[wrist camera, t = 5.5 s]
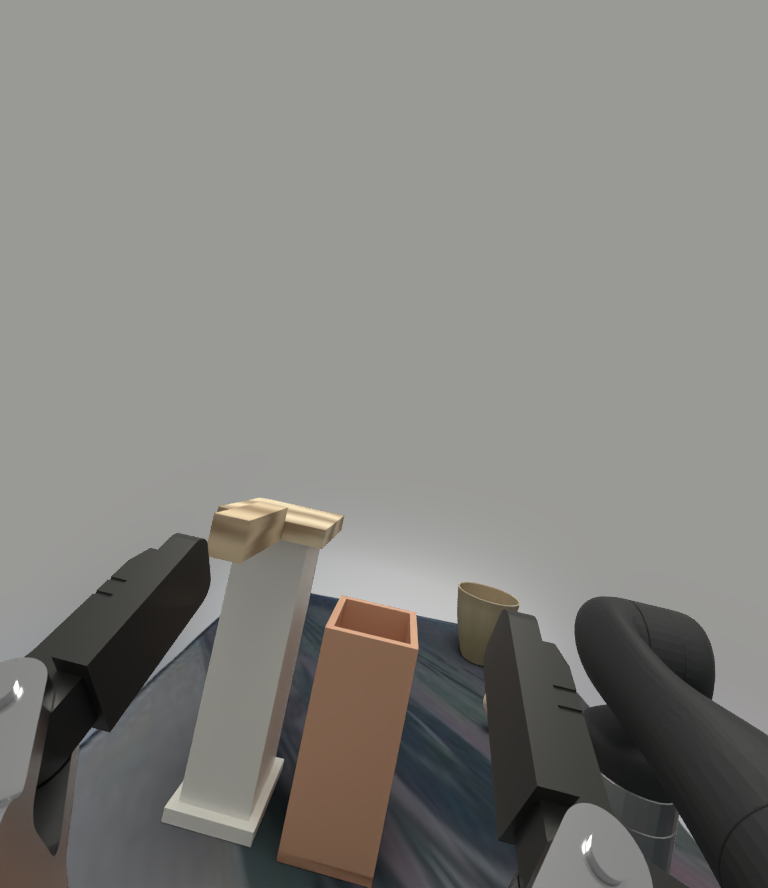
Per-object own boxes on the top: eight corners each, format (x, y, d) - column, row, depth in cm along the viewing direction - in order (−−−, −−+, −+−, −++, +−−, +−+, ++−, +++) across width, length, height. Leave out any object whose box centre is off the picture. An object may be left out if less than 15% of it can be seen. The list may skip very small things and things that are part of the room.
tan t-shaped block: (293, 576, 30) (303, 532, 30) (152, 543, 31) (162, 501, 31) (341, 530, 52) (346, 504, 52) (257, 511, 53) (263, 486, 53)
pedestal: (250, 847, 40) (314, 545, 41) (161, 821, 40) (227, 525, 42) (281, 770, 50) (332, 529, 51) (209, 751, 50) (261, 513, 52)
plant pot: (509, 683, 84) (523, 611, 84) (443, 661, 88) (456, 592, 88) (505, 654, 98) (517, 592, 99) (448, 636, 102) (460, 577, 103)
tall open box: (371, 888, 38) (418, 649, 39) (276, 861, 39) (325, 627, 40) (378, 801, 48) (415, 612, 49) (302, 780, 49) (341, 595, 50)
